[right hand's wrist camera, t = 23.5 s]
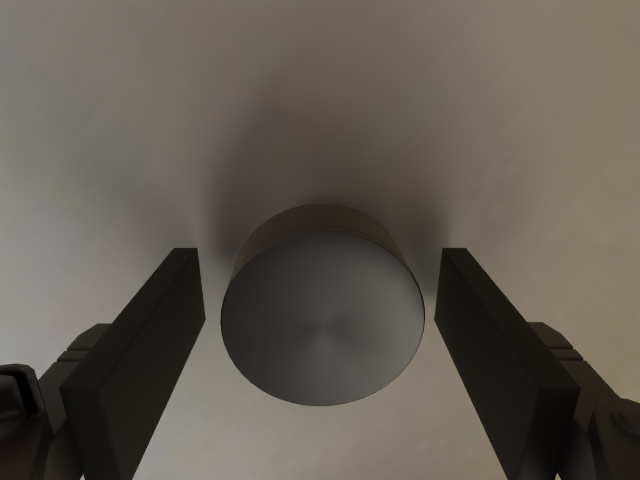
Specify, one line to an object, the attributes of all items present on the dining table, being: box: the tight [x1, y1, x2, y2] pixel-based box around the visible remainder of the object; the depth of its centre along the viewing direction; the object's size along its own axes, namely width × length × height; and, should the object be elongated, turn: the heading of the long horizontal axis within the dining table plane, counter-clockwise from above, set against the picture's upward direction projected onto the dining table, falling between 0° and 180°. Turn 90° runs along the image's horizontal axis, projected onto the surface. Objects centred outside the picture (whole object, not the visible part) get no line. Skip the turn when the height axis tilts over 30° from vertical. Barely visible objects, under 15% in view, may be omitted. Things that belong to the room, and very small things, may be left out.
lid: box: [221, 204, 425, 406], centre depth 13 cm, size 6×6×2 cm
